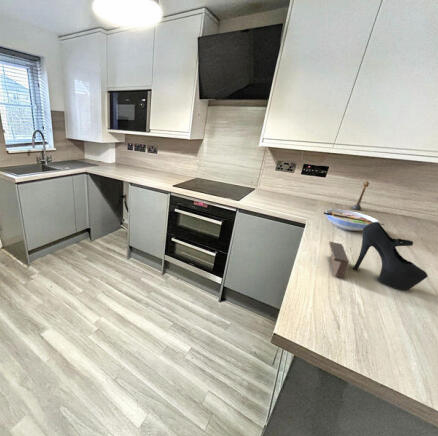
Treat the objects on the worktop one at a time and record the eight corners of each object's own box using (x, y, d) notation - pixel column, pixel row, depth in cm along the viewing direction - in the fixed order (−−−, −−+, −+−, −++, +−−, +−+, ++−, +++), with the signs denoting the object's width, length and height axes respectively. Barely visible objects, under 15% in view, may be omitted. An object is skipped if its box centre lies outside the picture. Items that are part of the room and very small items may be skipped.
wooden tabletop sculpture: (361, 211, 162) (373, 182, 155) (352, 209, 164) (364, 181, 157) (359, 209, 167) (370, 181, 159) (351, 207, 169) (362, 180, 162)
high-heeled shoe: (415, 298, 75) (447, 242, 68) (344, 269, 90) (364, 221, 82) (419, 289, 80) (449, 236, 73) (350, 263, 94) (370, 217, 87)
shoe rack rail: (335, 259, 97) (341, 244, 94) (341, 278, 84) (349, 261, 81) (324, 256, 99) (329, 241, 96) (328, 274, 86) (334, 258, 83)
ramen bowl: (371, 227, 133) (377, 214, 130) (380, 242, 115) (387, 226, 112) (318, 217, 145) (322, 204, 142) (319, 228, 127) (324, 214, 124)
